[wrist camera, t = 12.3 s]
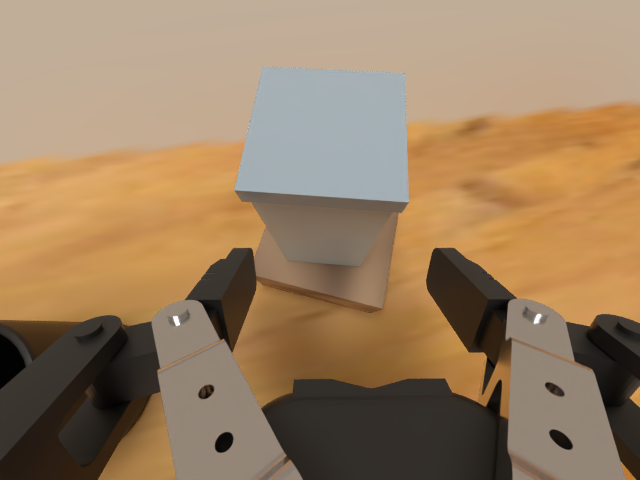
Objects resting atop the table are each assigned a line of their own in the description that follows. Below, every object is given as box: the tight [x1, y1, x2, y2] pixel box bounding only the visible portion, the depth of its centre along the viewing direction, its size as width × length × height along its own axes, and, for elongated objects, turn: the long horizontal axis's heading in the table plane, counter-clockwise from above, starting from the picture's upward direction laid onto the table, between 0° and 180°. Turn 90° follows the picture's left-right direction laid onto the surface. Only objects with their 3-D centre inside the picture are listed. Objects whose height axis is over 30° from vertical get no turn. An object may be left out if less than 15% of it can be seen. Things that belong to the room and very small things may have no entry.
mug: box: [0, 320, 149, 437], centre depth 15 cm, size 9×12×9 cm
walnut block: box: [254, 212, 398, 313], centre depth 22 cm, size 10×10×5 cm
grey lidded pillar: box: [235, 67, 409, 267], centre depth 14 cm, size 6×6×11 cm
